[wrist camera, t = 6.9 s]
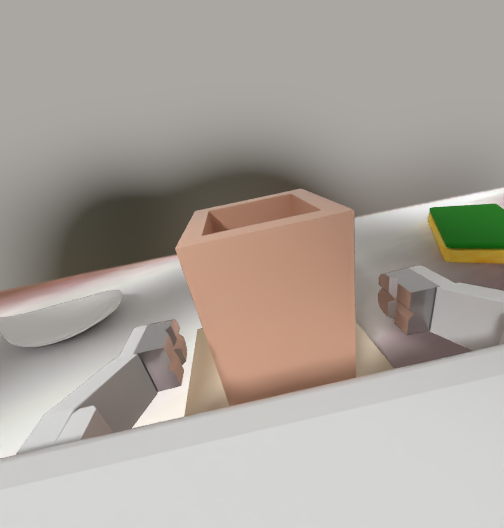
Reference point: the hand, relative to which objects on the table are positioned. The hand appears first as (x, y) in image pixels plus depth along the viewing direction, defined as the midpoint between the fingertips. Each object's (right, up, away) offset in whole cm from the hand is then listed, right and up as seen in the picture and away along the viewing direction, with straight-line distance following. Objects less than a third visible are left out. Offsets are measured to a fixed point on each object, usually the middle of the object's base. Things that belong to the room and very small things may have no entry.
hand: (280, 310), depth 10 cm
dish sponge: (+25, +4, +19) cm, 32 cm away
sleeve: (+1, -5, +5) cm, 7 cm away
